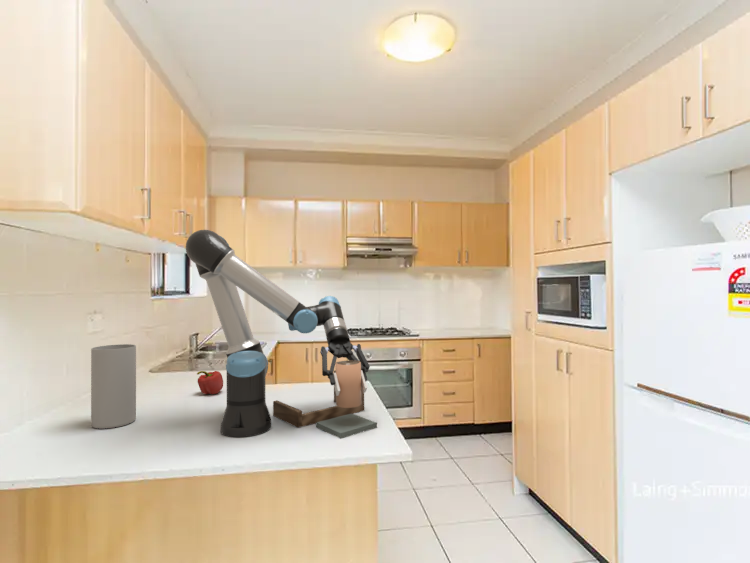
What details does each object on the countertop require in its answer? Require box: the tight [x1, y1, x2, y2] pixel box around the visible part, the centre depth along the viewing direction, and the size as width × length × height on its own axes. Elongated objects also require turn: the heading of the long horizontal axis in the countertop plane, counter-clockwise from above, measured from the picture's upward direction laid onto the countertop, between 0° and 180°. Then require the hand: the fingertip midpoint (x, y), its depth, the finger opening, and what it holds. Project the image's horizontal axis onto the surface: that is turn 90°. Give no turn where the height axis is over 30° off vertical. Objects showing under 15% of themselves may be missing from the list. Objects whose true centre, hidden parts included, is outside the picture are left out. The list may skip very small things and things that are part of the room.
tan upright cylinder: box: [335, 359, 362, 408], centre depth 131 cm, size 8×8×13 cm
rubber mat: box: [315, 413, 378, 439], centre depth 131 cm, size 14×13×2 cm
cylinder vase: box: [90, 343, 137, 430], centre depth 137 cm, size 12×12×25 cm
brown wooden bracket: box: [272, 369, 365, 429], centre depth 146 cm, size 27×16×12 cm, turn 131°
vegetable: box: [196, 370, 224, 395], centre depth 174 cm, size 11×10×10 cm
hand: (351, 391), depth 128 cm, fingers closed on tan upright cylinder, 8 cm apart
